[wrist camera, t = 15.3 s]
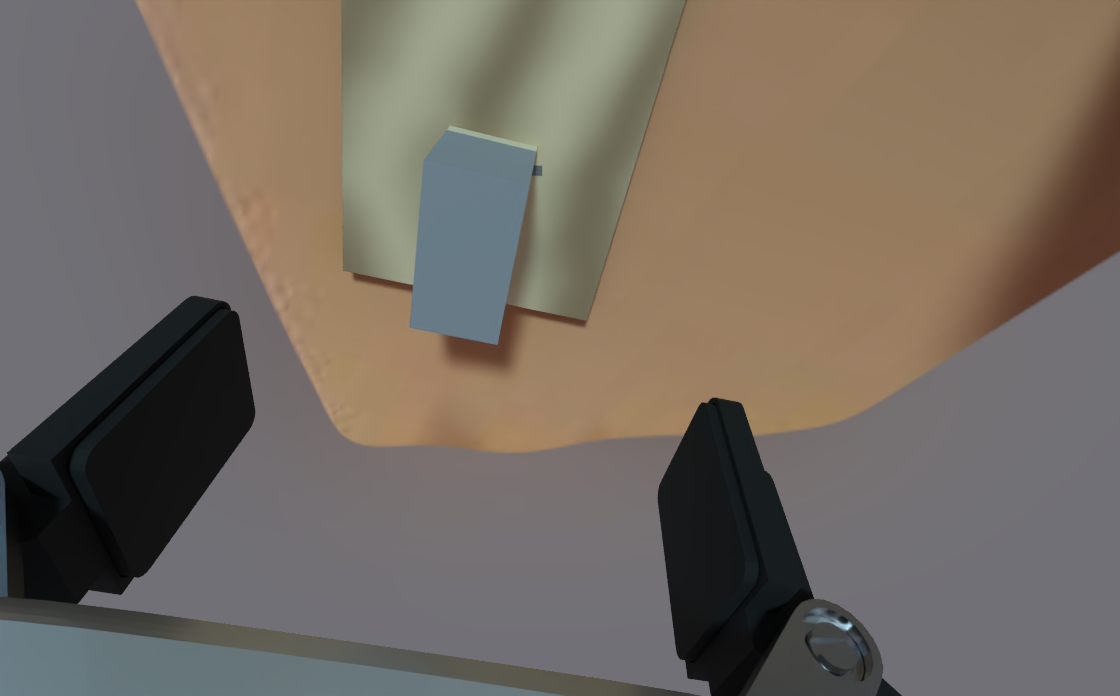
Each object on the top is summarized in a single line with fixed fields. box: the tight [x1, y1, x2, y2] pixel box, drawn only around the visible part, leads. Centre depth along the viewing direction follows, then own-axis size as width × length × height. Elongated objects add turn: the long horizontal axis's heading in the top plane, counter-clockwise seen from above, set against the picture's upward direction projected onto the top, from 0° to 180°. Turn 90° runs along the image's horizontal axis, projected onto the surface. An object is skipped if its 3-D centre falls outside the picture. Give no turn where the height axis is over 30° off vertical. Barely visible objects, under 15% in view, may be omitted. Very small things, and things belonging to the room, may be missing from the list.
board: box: [341, 0, 686, 321], centre depth 26 cm, size 14×18×1 cm
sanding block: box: [410, 126, 537, 345], centre depth 26 cm, size 4×8×6 cm, turn 167°
